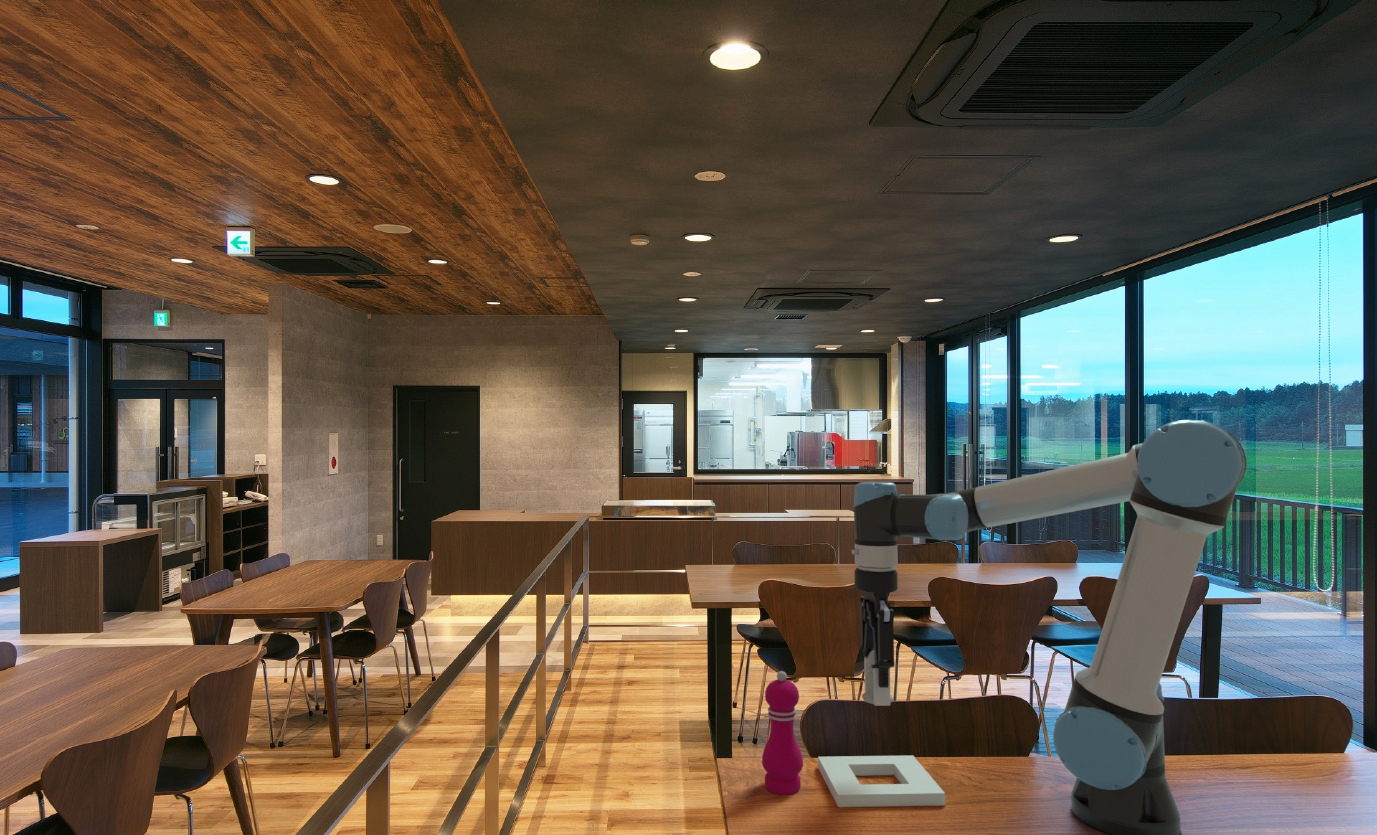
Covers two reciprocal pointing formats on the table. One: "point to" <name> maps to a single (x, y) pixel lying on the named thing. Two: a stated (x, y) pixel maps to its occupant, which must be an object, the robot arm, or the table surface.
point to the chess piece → (871, 681)
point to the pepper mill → (782, 738)
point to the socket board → (850, 793)
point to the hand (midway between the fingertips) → (877, 699)
